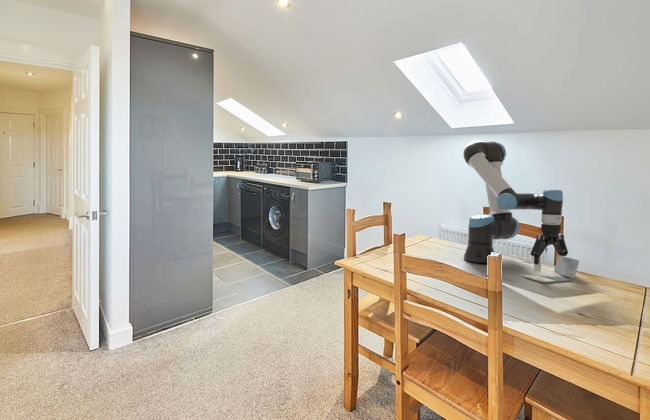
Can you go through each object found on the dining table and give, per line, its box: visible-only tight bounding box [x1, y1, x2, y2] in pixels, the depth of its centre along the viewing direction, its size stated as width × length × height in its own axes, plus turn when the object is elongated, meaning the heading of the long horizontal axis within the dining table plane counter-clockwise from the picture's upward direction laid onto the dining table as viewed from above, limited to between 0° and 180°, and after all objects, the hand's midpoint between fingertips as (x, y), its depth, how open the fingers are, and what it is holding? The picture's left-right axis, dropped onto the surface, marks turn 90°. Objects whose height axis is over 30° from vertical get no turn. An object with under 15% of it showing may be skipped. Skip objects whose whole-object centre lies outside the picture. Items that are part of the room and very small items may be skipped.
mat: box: [519, 274, 573, 285], centre depth 154 cm, size 14×16×1 cm
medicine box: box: [553, 256, 580, 279], centre depth 157 cm, size 8×4×9 cm, turn 3°
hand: (548, 270), depth 154 cm, fingers open, 13 cm apart
